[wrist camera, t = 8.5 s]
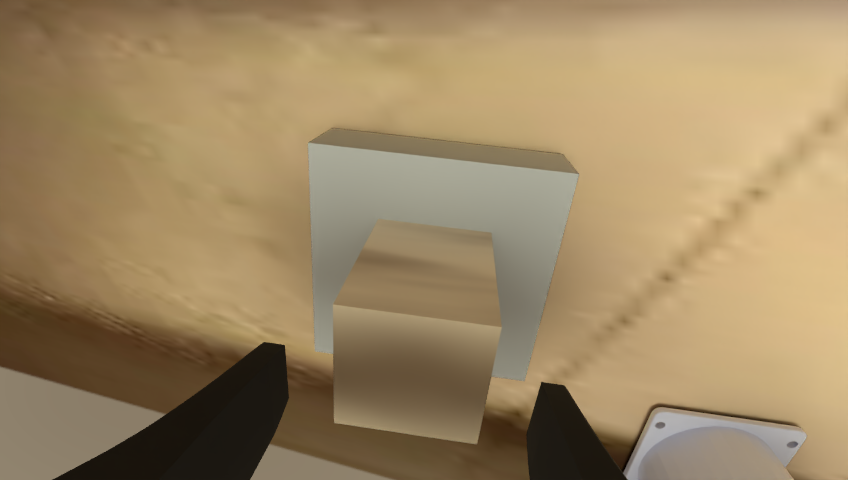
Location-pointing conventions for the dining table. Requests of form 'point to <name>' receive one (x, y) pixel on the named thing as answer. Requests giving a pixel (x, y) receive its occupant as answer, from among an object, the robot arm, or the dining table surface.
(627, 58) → the dining table surface
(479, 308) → the block
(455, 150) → the base
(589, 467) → the robot arm
